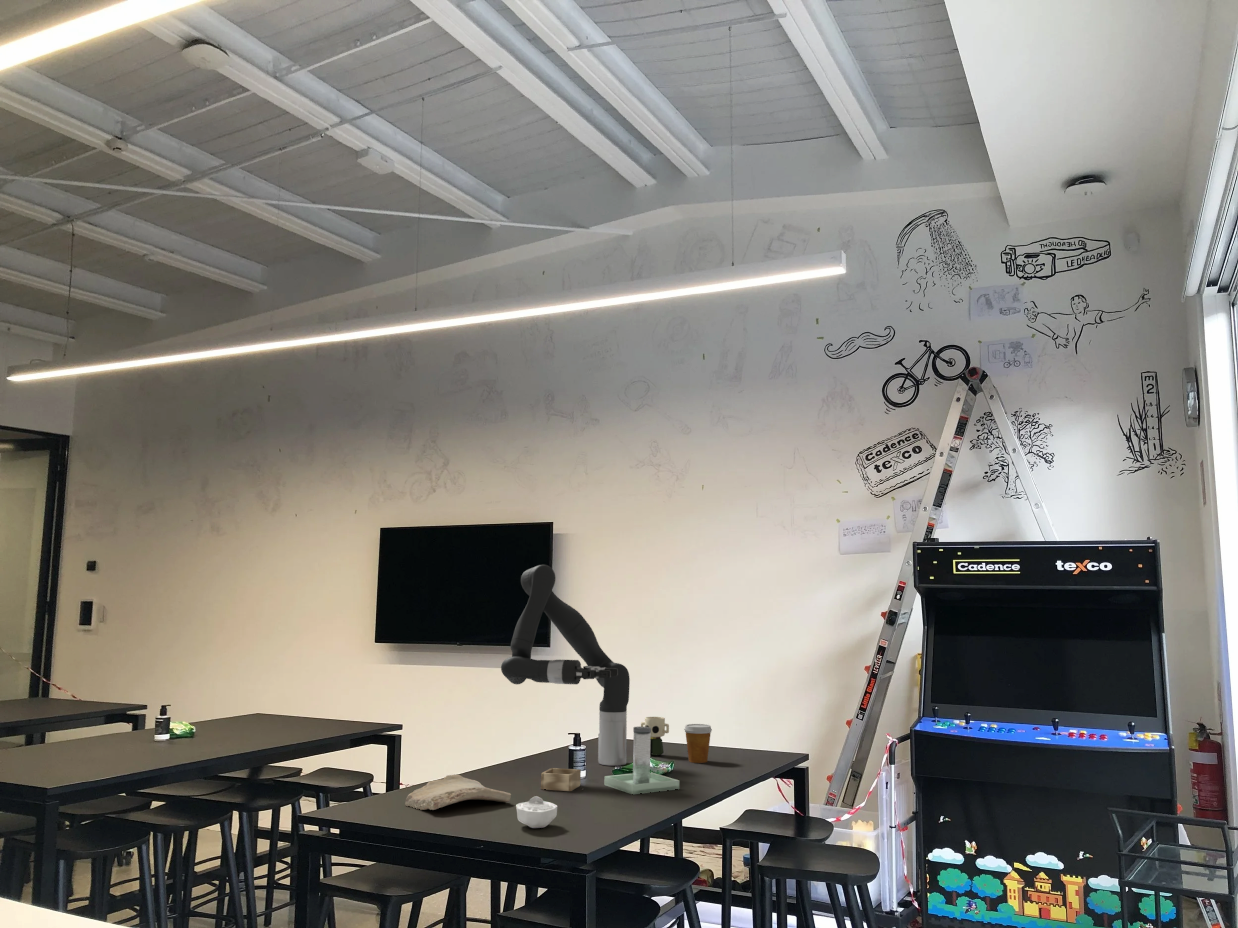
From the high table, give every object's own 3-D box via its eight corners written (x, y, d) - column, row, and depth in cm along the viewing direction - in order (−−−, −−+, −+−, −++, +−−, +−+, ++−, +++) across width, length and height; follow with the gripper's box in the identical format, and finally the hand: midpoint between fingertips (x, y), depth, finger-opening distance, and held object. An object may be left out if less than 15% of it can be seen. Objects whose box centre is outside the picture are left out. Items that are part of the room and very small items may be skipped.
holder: (540, 789, 281) (541, 773, 282) (550, 783, 290) (551, 767, 291) (571, 790, 279) (571, 774, 280) (580, 785, 288) (580, 769, 289)
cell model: (513, 832, 229) (514, 803, 230) (516, 821, 241) (517, 792, 242) (556, 832, 230) (557, 803, 231) (557, 821, 242) (557, 792, 243)
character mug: (636, 755, 343) (636, 717, 345) (644, 752, 349) (645, 715, 351) (664, 757, 338) (664, 719, 340) (672, 755, 344) (672, 717, 346)
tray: (604, 784, 289) (604, 776, 289) (649, 780, 297) (649, 771, 297) (632, 794, 275) (632, 785, 275) (679, 789, 283) (679, 780, 283)
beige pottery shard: (397, 807, 260) (434, 813, 245) (398, 778, 262) (434, 782, 247) (476, 799, 275) (515, 804, 260) (476, 772, 277) (515, 775, 262)
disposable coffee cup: (712, 759, 336) (711, 723, 337) (712, 764, 326) (711, 727, 328) (684, 758, 337) (684, 723, 338) (683, 763, 327) (683, 726, 329)
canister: (629, 782, 287) (630, 726, 289) (643, 780, 290) (644, 725, 292) (638, 785, 282) (639, 729, 285) (653, 784, 285) (654, 728, 287)
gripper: (557, 660, 299) (608, 662, 295) (571, 658, 312) (619, 659, 308) (557, 685, 298) (608, 687, 294) (570, 682, 311) (619, 683, 307)
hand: (614, 673), depth 301 cm, fingers open, 8 cm apart
